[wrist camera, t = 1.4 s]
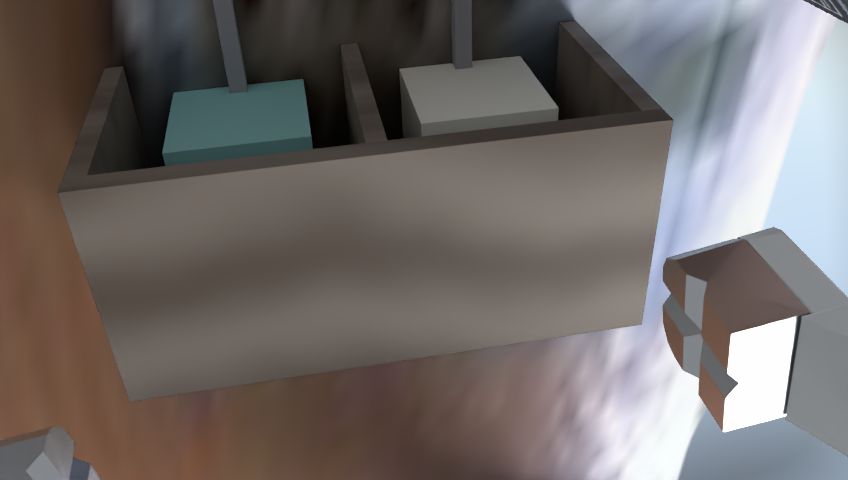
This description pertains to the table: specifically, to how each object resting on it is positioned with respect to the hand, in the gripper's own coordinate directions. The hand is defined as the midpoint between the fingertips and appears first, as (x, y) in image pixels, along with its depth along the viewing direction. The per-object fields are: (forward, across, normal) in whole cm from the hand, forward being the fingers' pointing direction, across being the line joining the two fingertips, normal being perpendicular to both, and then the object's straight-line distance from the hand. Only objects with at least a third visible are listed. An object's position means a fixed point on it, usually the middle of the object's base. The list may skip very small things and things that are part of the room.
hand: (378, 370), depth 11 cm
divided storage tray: (+28, -1, +12) cm, 30 cm away
